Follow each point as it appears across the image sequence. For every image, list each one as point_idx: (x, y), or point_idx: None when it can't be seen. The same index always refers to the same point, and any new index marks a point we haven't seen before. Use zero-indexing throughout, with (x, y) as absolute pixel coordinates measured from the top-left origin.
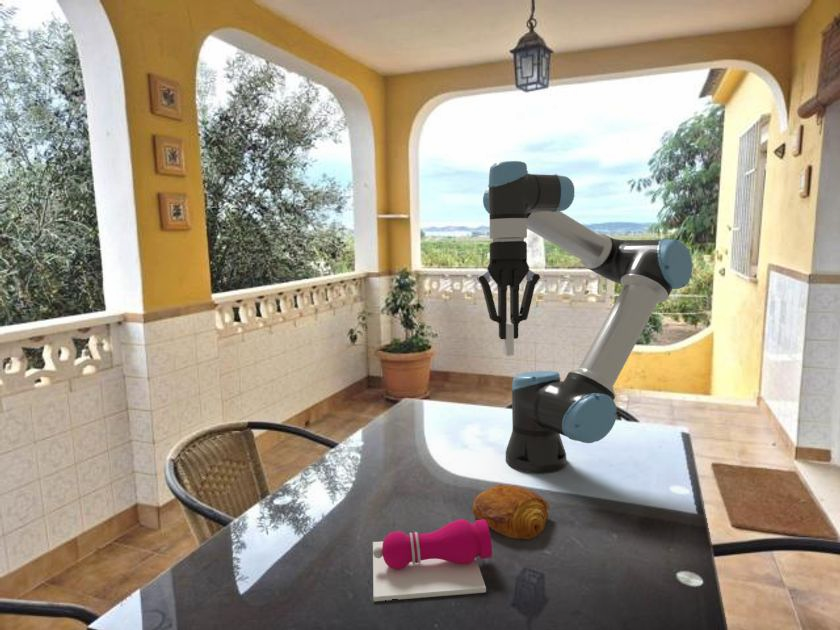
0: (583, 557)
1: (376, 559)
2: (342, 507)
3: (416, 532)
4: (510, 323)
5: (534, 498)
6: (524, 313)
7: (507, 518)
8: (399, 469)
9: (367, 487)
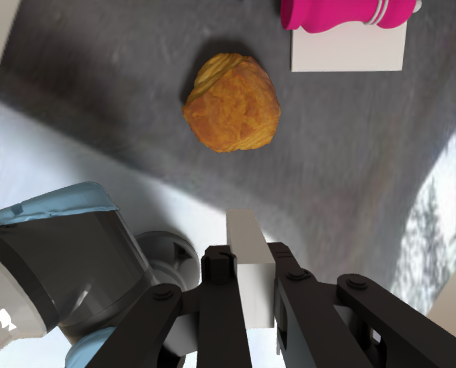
0: (168, 13)
1: (402, 30)
2: (423, 166)
3: (380, 3)
4: (243, 296)
5: (204, 92)
6: (158, 310)
7: (249, 58)
8: (343, 262)
9: (389, 215)
